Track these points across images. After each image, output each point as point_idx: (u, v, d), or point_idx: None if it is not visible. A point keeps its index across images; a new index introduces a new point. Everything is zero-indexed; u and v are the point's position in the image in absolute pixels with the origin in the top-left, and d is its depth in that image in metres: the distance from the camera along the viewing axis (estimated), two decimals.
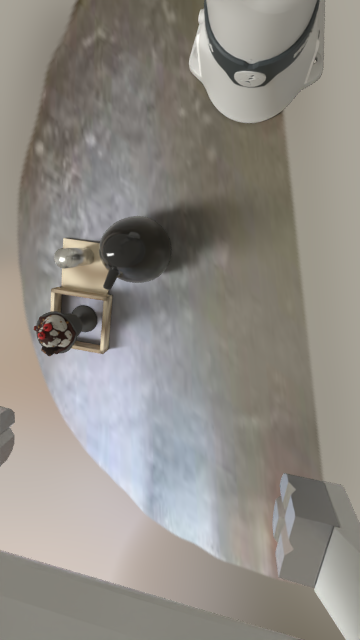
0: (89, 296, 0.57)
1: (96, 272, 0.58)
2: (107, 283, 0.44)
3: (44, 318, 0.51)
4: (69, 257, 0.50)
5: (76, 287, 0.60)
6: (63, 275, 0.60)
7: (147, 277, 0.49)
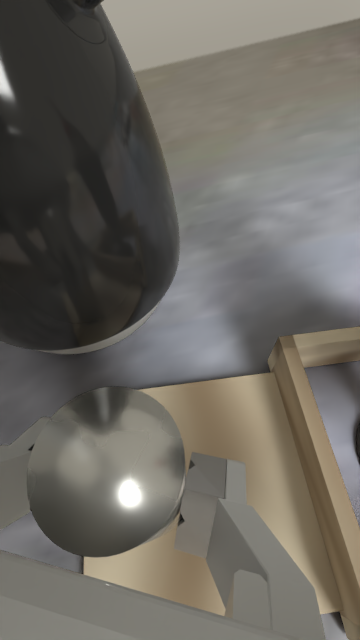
0: (309, 408, 0.13)
1: (203, 431, 0.14)
2: None
3: None
4: (93, 412, 0.07)
5: (302, 516, 0.13)
6: None
7: None
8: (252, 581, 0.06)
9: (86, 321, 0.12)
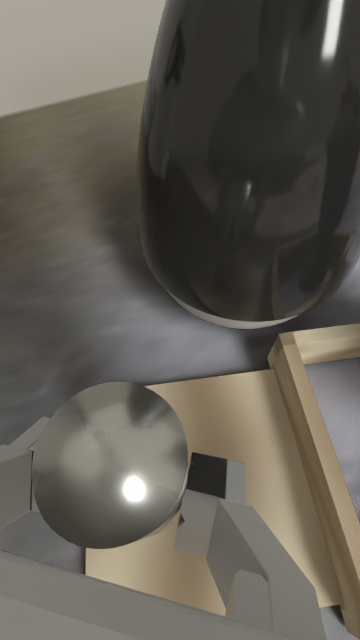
0: (309, 404, 0.13)
1: (204, 428, 0.14)
2: None
3: None
4: (97, 407, 0.07)
5: (302, 511, 0.13)
6: None
7: None
8: (253, 581, 0.06)
9: (312, 291, 0.12)
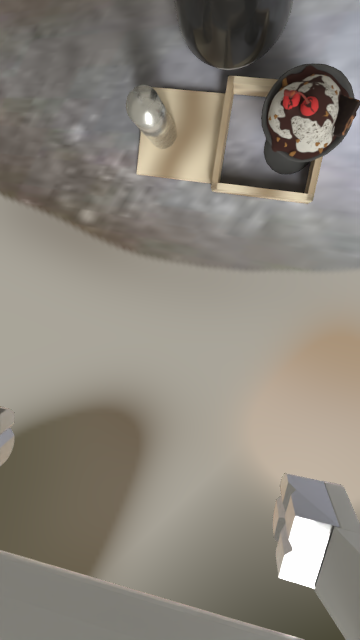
0: (225, 112, 0.33)
1: (188, 114, 0.35)
2: None
3: (275, 136, 0.26)
4: (141, 91, 0.28)
5: (213, 154, 0.36)
6: (193, 177, 0.37)
7: None
8: None
9: (236, 58, 0.30)
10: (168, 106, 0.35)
